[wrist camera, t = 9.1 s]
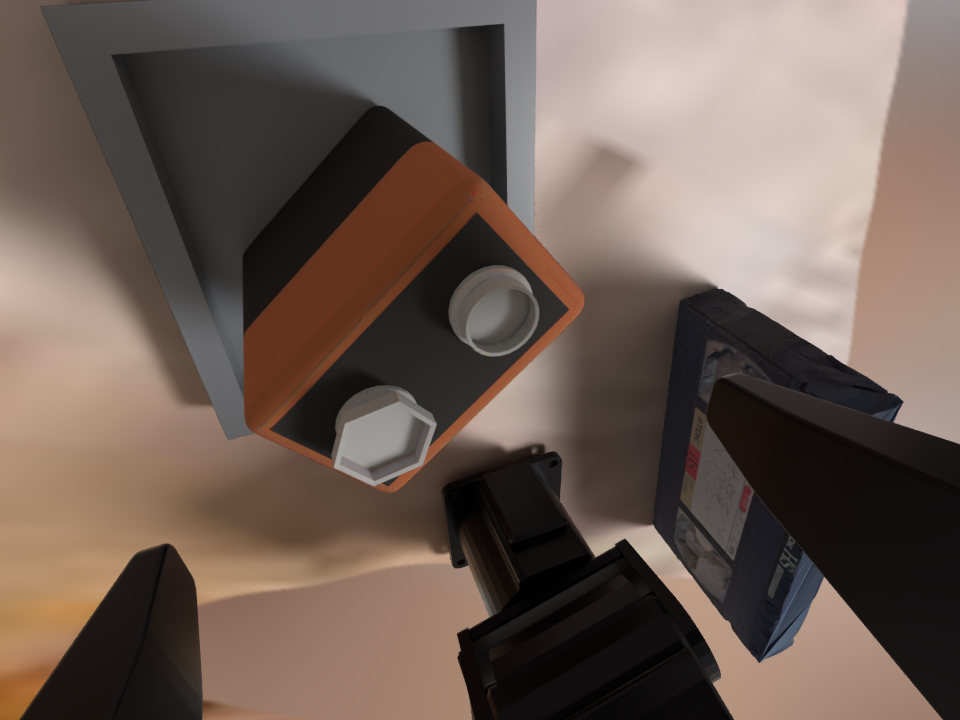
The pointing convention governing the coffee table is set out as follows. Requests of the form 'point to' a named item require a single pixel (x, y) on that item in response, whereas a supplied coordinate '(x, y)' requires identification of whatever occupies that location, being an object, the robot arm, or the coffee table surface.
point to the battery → (391, 305)
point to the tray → (281, 123)
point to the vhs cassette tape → (719, 483)
